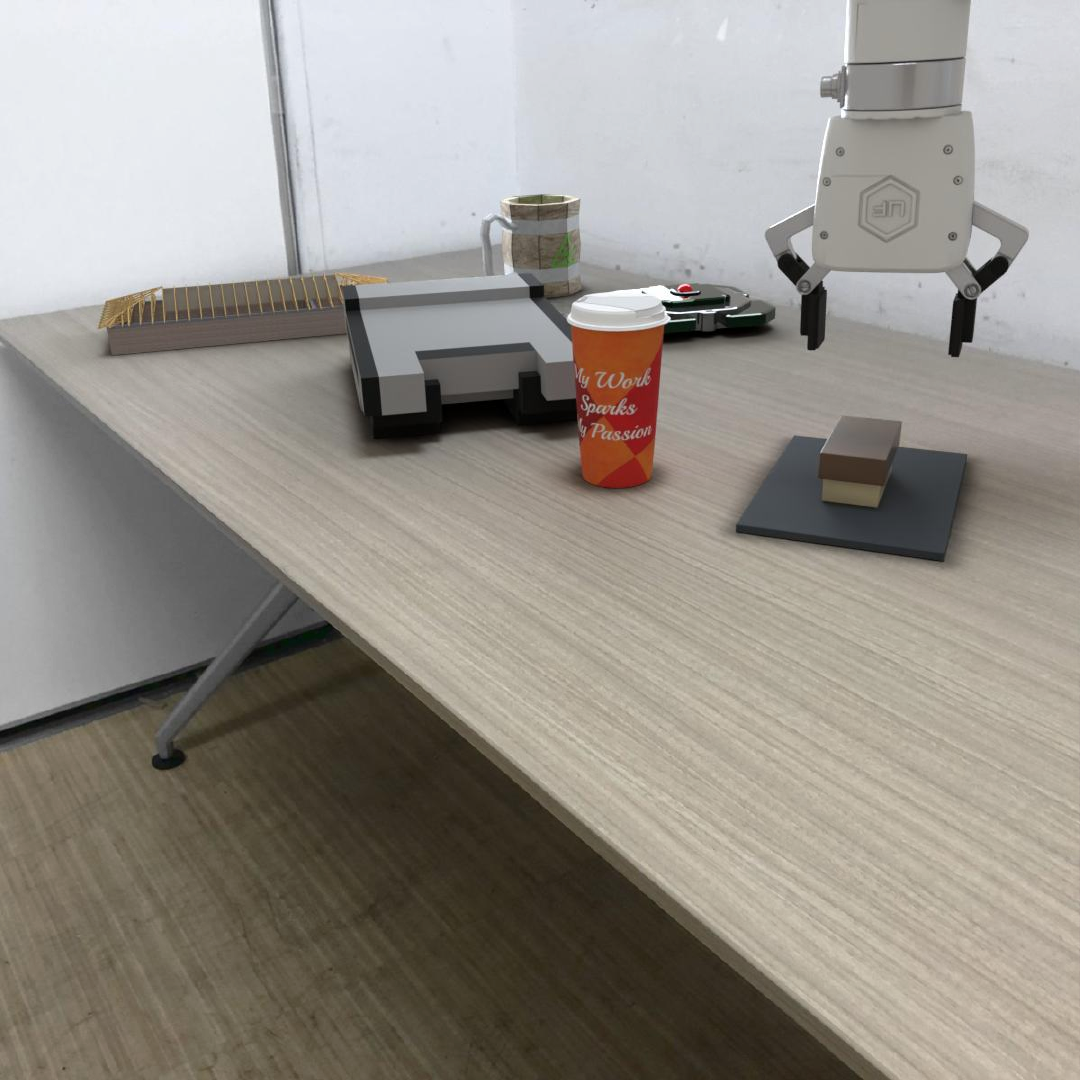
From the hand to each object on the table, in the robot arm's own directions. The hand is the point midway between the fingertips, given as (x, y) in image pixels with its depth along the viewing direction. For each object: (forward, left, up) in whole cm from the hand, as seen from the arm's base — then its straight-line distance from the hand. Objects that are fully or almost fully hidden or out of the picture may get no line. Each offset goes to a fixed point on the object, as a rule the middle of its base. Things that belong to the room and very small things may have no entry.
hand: (884, 348), depth 80 cm
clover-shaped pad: (+8, -55, -11) cm, 57 cm away
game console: (+33, -28, -11) cm, 45 cm away
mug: (+27, -74, -12) cm, 80 cm away
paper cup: (+19, -5, -11) cm, 23 cm away
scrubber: (+1, 0, -11) cm, 11 cm away
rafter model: (+60, -57, -11) cm, 84 cm away
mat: (+1, 0, -11) cm, 11 cm away
